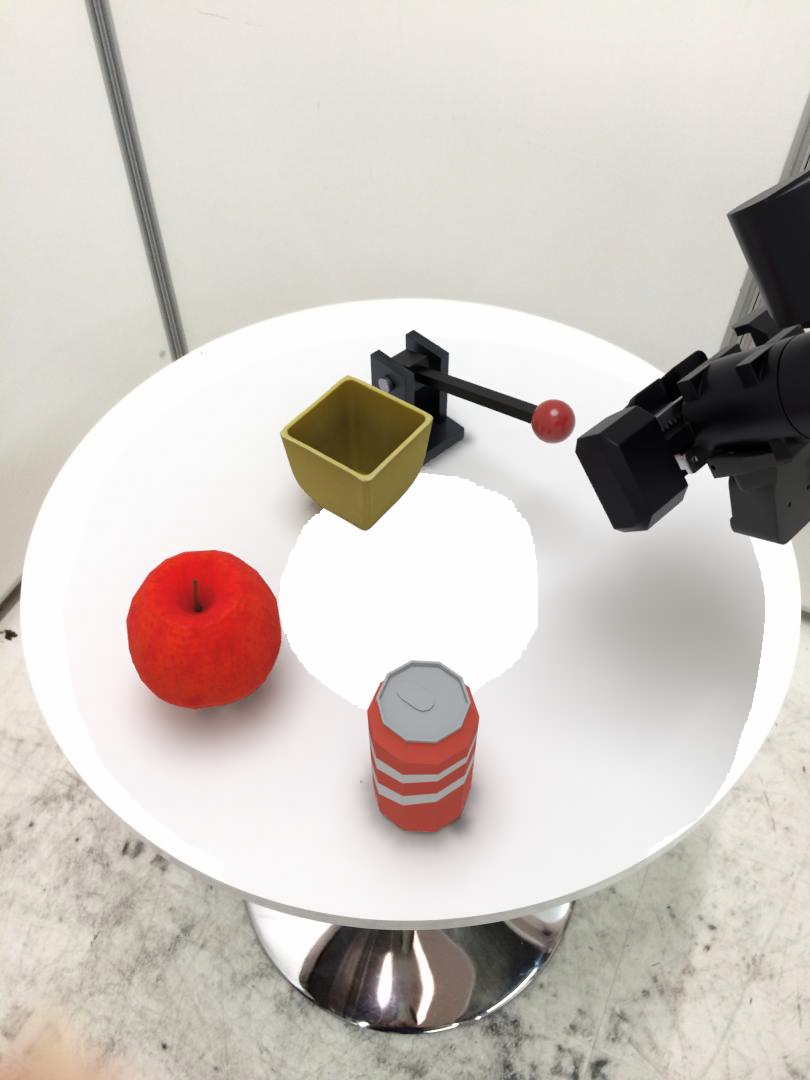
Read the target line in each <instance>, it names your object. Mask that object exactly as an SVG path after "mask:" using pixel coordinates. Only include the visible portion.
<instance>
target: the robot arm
mask: <svg viewBox="0 0 810 1080" xmlns="http://www.w3.org/2000/svg"><path fill="white" fill-rule="evenodd" d="M726 217H727V220H728V223H729V225H730V227H731V229H732V232H733V233H734V236H735V239H736V241H737V243H738V245H739V248H740V250H741V252H742V255H743V257H744V260H745V262H746V265H747V266H748V269H749V271H750V273H751V275H752V278H753V280H754V282H755V285H756V287H757V290H758V292H759V295H760V296H761V299H762V301H763V303H764V305H763V306H761V307H757V308H755V309H752V310H751V311H749V313H747V314H746V315H744V316H743V317H742V318H740V319H739V320H737V321H736V322H735V323H734V324H732V325H730V327H731V330H732V332H733V334H734V336H736V337H741V336H744V335H747V334H750V337H751V339H752V341H753V344H754V346H755V347H752V348H748V349H744V350H742V348H741V345H740V344H739V342H738V343H734V344H731V345H728V346H724V347H722V349H720V350H719V351H718V352H716V353H715V354H713V355H712V356H710V357H709V358H708V356H707V354H706V353H705V351H703V350H700V349H698V350H695V351H694V352H692V353H690V354H689V355H688V356H687V357H685V358H684V359H683V360H681V361H680V362H678V363H677V364H675V365H674V366H673V367H672V368H670V369H669V371H667V372H666V373H665V374H663V376H661V377H658V378H656V379H655V380H654V381H653V382H651V383H649V384H648V385H647V386H646V387H644V388H643V389H641V390H640V391H638V392H637V393H636V394H635V395H633V396H632V397H631V398H630V399H629V401H628V403H627V404H626V406H624V407H623V409H621V410H619V411H616V412H614V413H612V414H611V415H608V416H606V417H604V418H603V419H602V420H600V421H599V422H598V423H597V424H595V425H594V426H593V427H591V428H590V429H588V430H587V431H585V432H584V433H583V434H582V435H580V436H578V438H576V444H575V451H574V453H575V455H576V457H577V459H578V461H579V463H580V465H581V467H582V469H583V471H584V473H585V475H586V477H587V479H588V481H589V483H590V485H591V487H592V488H593V491H594V493H595V495H596V497H597V499H598V500H599V503H600V504H601V507H602V509H603V510H604V513H605V515H606V516H607V518H608V520H609V522H610V524H611V526H612V528H613V530H615V531H619V532H622V533H632V532H634V533H637V532H646V531H647V532H648V531H649V530H650V529H651V528H652V527H653V526H655V525H656V524H657V523H658V522H659V521H661V520H662V519H663V518H664V517H665V516H666V515H667V514H669V513H670V512H671V511H672V510H673V509H675V508H676V507H677V506H678V505H680V504H681V503H682V502H683V501H684V499H685V496H686V494H687V490H688V487H689V483H688V480H687V479H686V476H688V475H693V474H696V473H697V472H698V471H700V470H701V469H703V467H705V466H706V465H707V467H708V469H709V470H710V473H711V476H712V477H713V479H720V478H721V479H722V478H727V477H728V481H727V484H728V493H729V503H730V509H731V510H730V511H731V517H730V518H729V525H730V529H731V531H732V532H733V533H736V534H740V535H743V536H747V537H751V538H755V539H758V540H763V541H767V542H770V543H774V544H778V545H782V546H784V545H786V544H788V543H789V542H791V540H792V539H793V538H794V537H795V536H797V535H798V534H799V533H800V532H801V531H802V530H803V529H804V528H805V527H806V526H807V525H808V524H809V523H810V330H809V331H805V330H806V329H810V166H809V167H807V168H805V169H803V170H802V171H799V172H797V173H795V174H793V175H791V176H790V177H788V178H786V179H783V180H782V181H780V182H778V183H776V184H775V185H774V184H773V186H771V187H769V188H767V189H765V190H763V191H761V192H760V193H758V194H756V195H754V196H753V197H751V198H749V199H748V200H745V201H744V202H742V203H741V204H739V205H737V206H736V207H734V208H733V209H731V210H730V211H728V212H727V213H726Z"/></svg>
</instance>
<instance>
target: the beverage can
mask: <svg viewBox="0 0 810 1080" xmlns="http://www.w3.org/2000/svg"><path fill="white" fill-rule="evenodd" d="M366 714H367V727H368V737H369V738H368V739H369V751H370V764H371V775H372V776H371V777H372V784H373V789H374V793H375V796H376V801H377V805H378V809H379V812H380V813H381V814H383V815H384V816H385V817H386V818H388V819H389V820H390V821H391V822H393V823H394V824H395V825H396V826H398V827H399V828H400V829H401V830H402V831H408V832H425V833H436V832H437V831H439V830H440V829H442V828H444V827H446V826H447V825H448V824H450V823H452V822H454V821H455V820H457V819H458V818H459V817H461V816H462V813H463V811H464V808H465V805H466V801H467V799H468V797H469V794H470V791H471V788H472V779H473V772H474V765H475V764H474V763H475V756H476V748H477V739H478V730H479V725H480V723H479V722H480V715H479V711H478V709H477V706H476V702H475V699H474V697H473V693H472V691H471V688H470V686H468V685H467V684H466V683H465V681H464V678H463V677H462V675H460V674H458V673H457V672H455V671H454V670H453V669H451V668H450V667H448V666H447V665H445V664H444V663H443V662H441V661H437V660H436V661H432V660H414V659H413V660H409V661H407V662H405V663H404V664H402V665H400V666H398V667H396V668H395V669H393V670H391V671H389V672H387V673H386V675H385V678H384V679H383V680H382V681H381V682H379V685H378V686H377V688H376V691H375V693H374V695H373V697H372V699H371V702H370V703H369V706H368V708H367V709H366Z"/></svg>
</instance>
